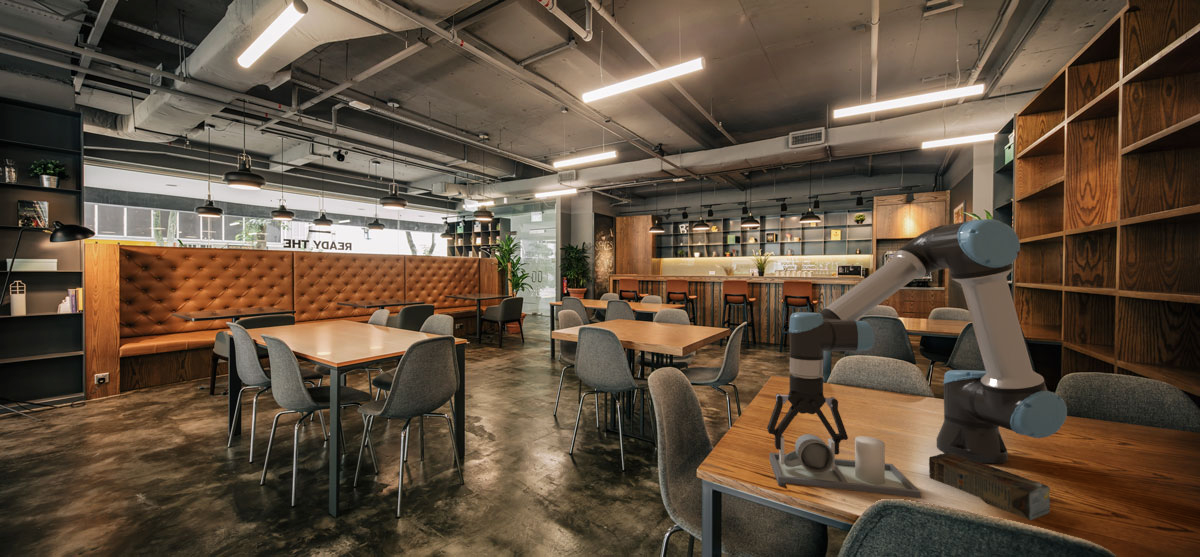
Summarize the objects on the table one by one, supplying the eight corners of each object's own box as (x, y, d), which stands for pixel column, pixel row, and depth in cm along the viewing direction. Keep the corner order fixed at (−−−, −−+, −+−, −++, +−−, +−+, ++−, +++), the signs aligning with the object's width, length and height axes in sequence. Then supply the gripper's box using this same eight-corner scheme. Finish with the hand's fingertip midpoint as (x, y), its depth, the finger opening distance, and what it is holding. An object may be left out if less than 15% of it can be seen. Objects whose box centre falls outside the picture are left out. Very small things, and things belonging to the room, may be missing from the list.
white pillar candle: (879, 474, 105) (878, 437, 105) (889, 485, 99) (888, 446, 99) (851, 471, 106) (851, 435, 106) (860, 482, 101) (859, 444, 101)
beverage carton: (1030, 522, 86) (1030, 489, 86) (926, 481, 104) (926, 454, 104) (1051, 514, 89) (1051, 482, 89) (947, 476, 107) (946, 449, 107)
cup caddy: (892, 472, 108) (892, 464, 108) (920, 501, 94) (920, 492, 94) (769, 459, 115) (769, 452, 115) (778, 485, 101) (778, 477, 101)
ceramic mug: (824, 461, 109) (823, 431, 109) (835, 475, 101) (833, 442, 101) (780, 459, 111) (779, 429, 112) (787, 472, 103) (786, 440, 104)
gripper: (853, 374, 107) (853, 463, 107) (755, 369, 113) (755, 454, 113) (863, 381, 100) (864, 476, 100) (758, 375, 106) (758, 466, 105)
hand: (806, 464), depth 106 cm, fingers closed on ceramic mug, 11 cm apart
